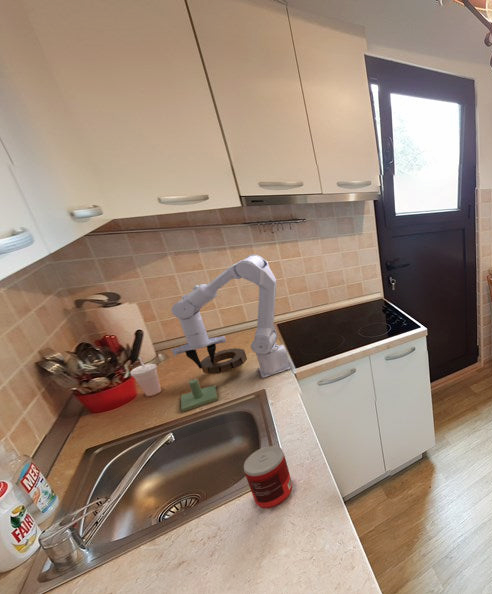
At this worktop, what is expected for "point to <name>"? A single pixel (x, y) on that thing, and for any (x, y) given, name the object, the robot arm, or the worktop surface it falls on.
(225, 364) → the walnut ring
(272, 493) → the canned food
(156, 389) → the smoothie
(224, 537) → the worktop surface
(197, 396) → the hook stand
